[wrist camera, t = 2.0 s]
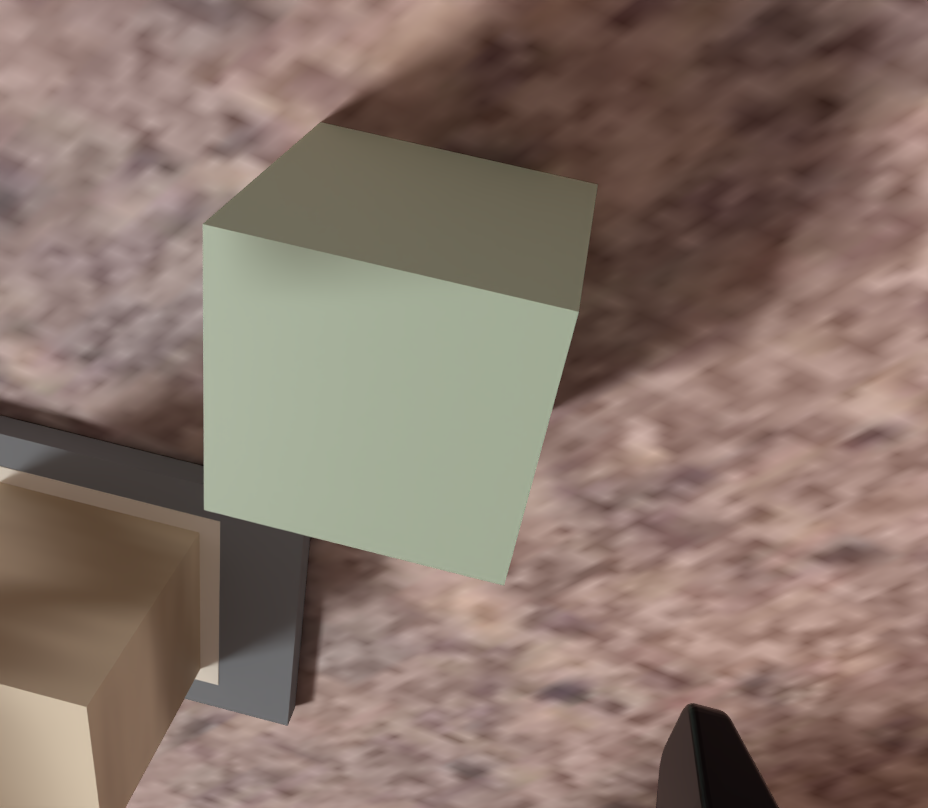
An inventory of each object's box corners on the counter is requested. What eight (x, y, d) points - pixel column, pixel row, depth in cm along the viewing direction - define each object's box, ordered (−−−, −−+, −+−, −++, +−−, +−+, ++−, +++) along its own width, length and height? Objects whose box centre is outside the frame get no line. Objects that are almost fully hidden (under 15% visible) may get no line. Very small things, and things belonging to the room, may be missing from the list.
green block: (597, 183, 15) (579, 311, 11) (537, 413, 18) (503, 585, 14) (321, 121, 15) (203, 224, 11) (304, 358, 18) (203, 510, 14)
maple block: (199, 532, 21) (86, 707, 16) (200, 668, 23) (104, 847, 19) (-1, 481, 21) (-161, 641, 17) (24, 622, 24) (-109, 788, 20)
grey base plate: (314, 493, 20) (305, 510, 20) (294, 707, 25) (287, 726, 24) (-93, 392, 21) (-112, 406, 20) (-39, 620, 25) (-53, 636, 25)
